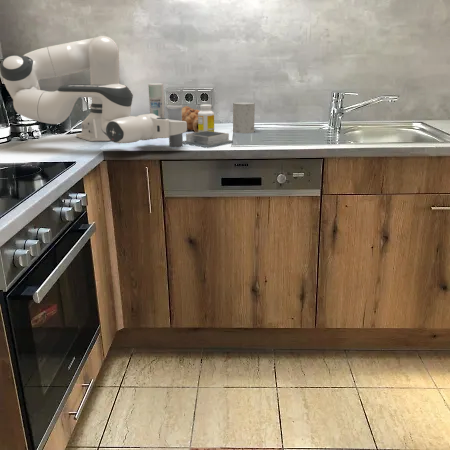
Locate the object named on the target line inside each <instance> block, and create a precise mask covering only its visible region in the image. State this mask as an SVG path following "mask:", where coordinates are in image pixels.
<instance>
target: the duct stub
mask: <svg viewBox="0 0 450 450" xmlns="http://www.w3.org/2000/svg"><path fill="white" fill-rule="evenodd" d="M166 108H167V115H168V116H167V119H171V120H179V121H182V108H183V105H182V104H179V103H175V104H167V106H166ZM168 140H169V143H168V144H169V147H171V148H180V147H181V146H182V147H183V146H184V144H183V141H184V140H183V133H181V134H177V135H171V136H169V138H168Z"/></svg>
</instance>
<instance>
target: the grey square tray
mask: <svg viewBox="0 0 450 450" xmlns="http://www.w3.org/2000/svg"><path fill="white" fill-rule="evenodd" d="M185 136H186V137H185V139H186V140H183V145H188V144H189V146H194V145H195V146H196V147H200V146H201V148H206V147H207V148H206V149H210V148H215V147H219V146H223V145H224V146H225V145H229V144H233V143H234V141H233V140H230V137H229V136H230V133H228V132H227V133H226V132H219V131H215V130H214V131H201V132H195V131H194V132H192V133H191V132H190V133H186V135H185ZM195 146H194V147H195Z"/></svg>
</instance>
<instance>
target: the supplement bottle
mask: <svg viewBox="0 0 450 450" xmlns="http://www.w3.org/2000/svg"><path fill="white" fill-rule="evenodd" d="M199 108H200V110H199V112H198V132H201V131H214V132H215V112H214V111H212V104H210V103H209V104H200V105H199Z"/></svg>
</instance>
